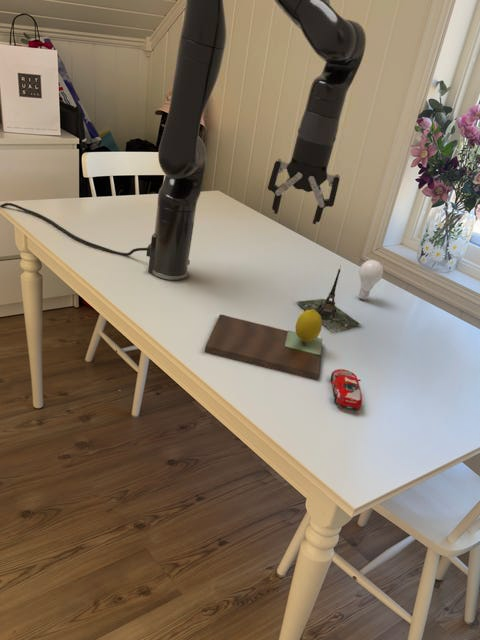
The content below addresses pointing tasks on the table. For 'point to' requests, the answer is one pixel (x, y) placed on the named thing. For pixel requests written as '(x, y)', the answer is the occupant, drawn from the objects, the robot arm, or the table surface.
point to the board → (265, 346)
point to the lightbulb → (369, 277)
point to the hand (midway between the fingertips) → (294, 218)
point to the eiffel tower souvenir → (330, 311)
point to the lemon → (308, 325)
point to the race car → (346, 389)
